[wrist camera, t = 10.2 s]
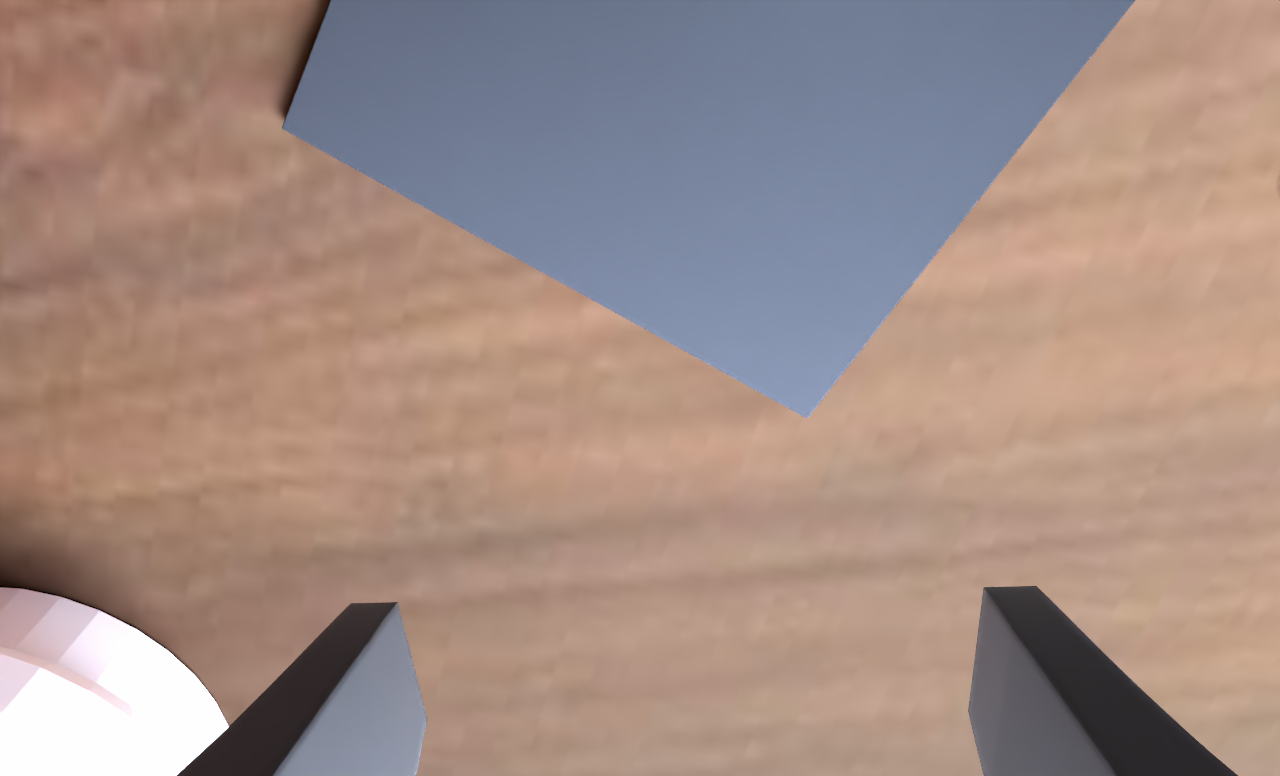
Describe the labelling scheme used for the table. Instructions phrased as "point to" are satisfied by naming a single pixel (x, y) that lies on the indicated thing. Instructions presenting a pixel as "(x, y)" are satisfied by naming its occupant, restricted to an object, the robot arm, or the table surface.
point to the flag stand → (93, 695)
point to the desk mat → (702, 147)
